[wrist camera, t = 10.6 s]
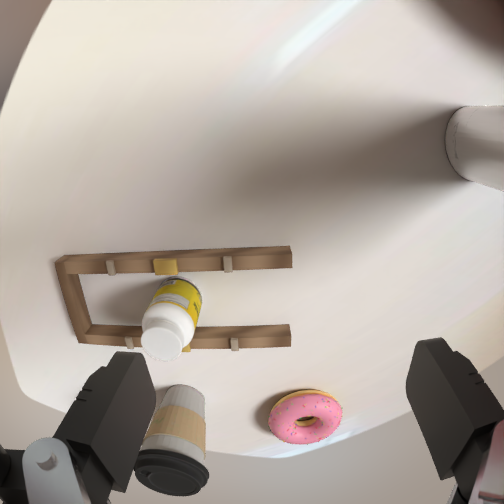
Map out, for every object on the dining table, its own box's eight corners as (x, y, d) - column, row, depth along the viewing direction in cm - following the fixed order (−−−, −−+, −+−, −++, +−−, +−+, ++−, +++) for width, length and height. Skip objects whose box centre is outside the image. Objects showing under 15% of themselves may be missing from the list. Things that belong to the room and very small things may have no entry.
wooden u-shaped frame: (289, 245, 35) (292, 255, 32) (289, 334, 39) (291, 349, 36) (64, 254, 36) (51, 264, 33) (86, 333, 40) (76, 345, 37)
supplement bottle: (195, 321, 38) (180, 374, 29) (153, 306, 38) (128, 354, 29) (209, 285, 37) (196, 334, 28) (165, 268, 36) (138, 312, 27)
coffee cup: (152, 371, 42) (121, 455, 27) (219, 380, 42) (207, 470, 28) (157, 413, 45) (135, 490, 31) (216, 421, 45) (207, 502, 31)
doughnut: (334, 427, 46) (338, 446, 42) (267, 432, 46) (268, 451, 42) (344, 381, 42) (350, 401, 38) (267, 386, 42) (268, 407, 38)
